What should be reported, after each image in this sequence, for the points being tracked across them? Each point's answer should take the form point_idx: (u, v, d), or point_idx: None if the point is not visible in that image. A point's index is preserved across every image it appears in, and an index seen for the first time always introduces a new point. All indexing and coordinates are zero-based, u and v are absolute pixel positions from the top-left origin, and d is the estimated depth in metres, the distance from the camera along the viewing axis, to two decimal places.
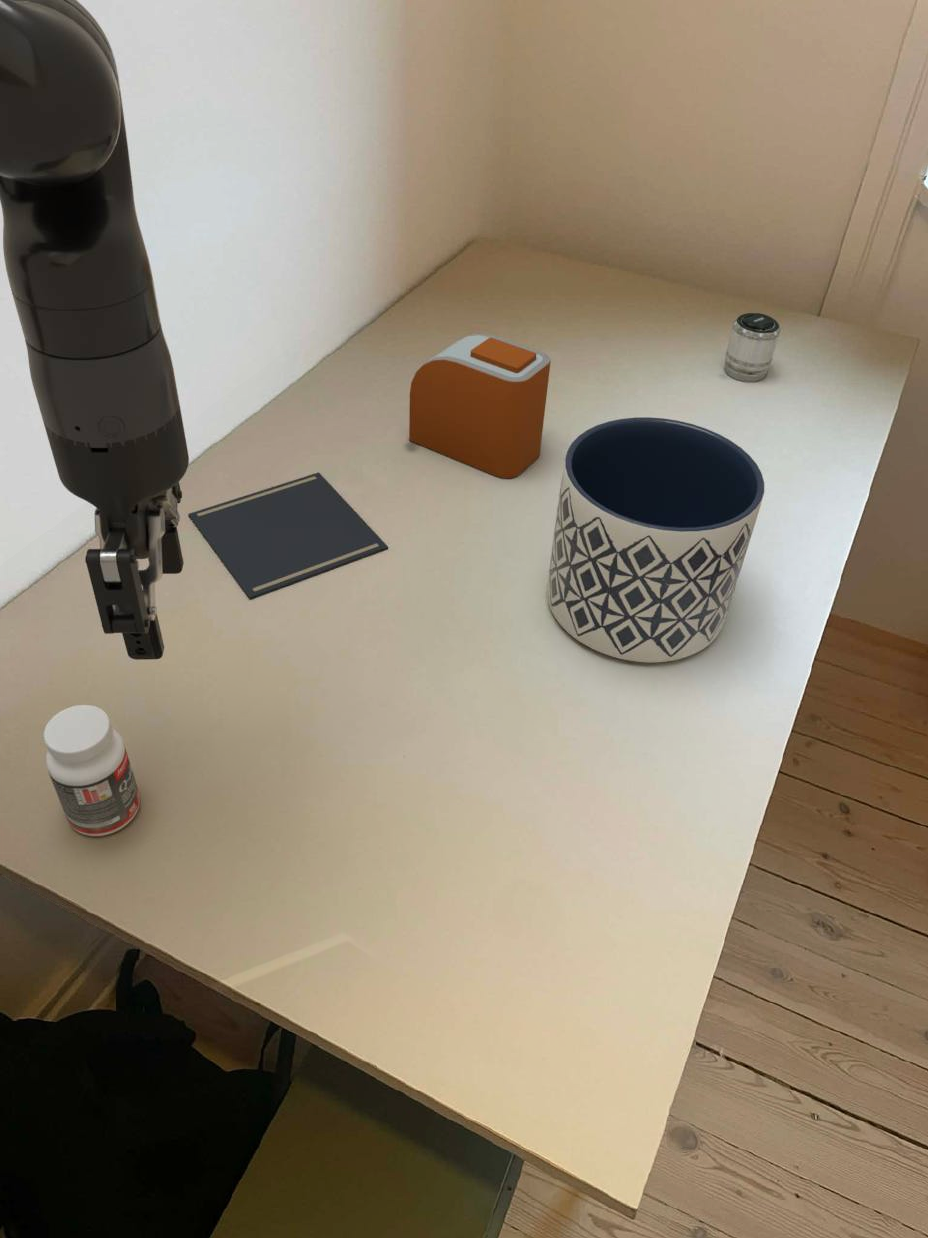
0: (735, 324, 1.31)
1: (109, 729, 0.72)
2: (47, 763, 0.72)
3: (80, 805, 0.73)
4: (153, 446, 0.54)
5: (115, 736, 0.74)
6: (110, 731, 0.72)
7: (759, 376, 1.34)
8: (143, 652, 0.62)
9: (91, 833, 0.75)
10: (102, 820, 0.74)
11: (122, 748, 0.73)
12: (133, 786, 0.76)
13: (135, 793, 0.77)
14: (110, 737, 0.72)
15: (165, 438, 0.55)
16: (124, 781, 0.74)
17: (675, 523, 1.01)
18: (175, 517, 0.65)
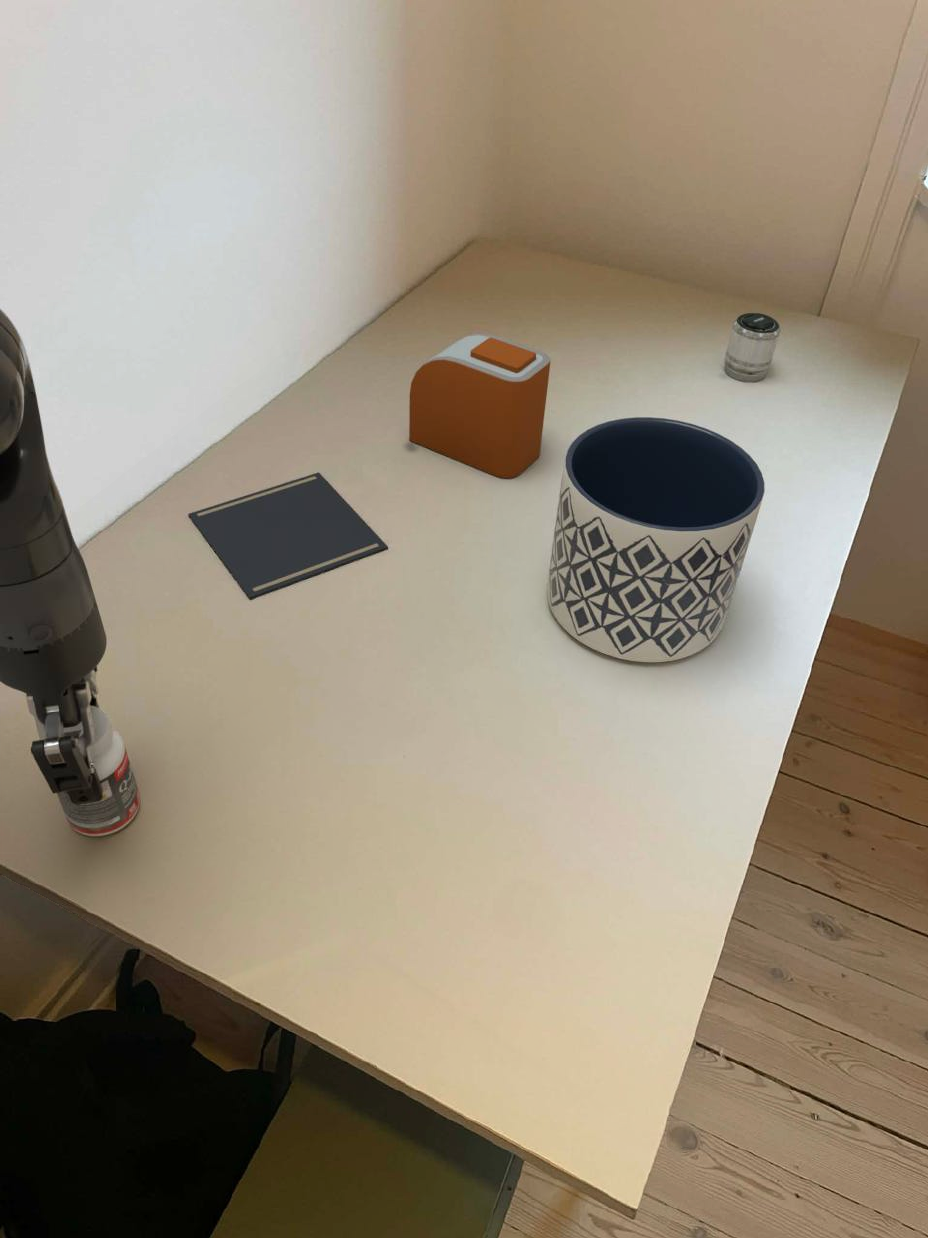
0: (735, 324, 1.31)
1: (109, 729, 0.72)
2: None
3: (80, 805, 0.73)
4: (78, 639, 0.62)
5: (115, 736, 0.74)
6: (110, 731, 0.72)
7: (759, 376, 1.34)
8: (85, 799, 0.71)
9: (91, 833, 0.75)
10: (102, 820, 0.74)
11: (122, 748, 0.73)
12: (133, 786, 0.76)
13: (135, 793, 0.77)
14: (110, 737, 0.72)
15: (87, 630, 0.63)
16: (125, 781, 0.74)
17: (675, 523, 1.01)
18: (95, 688, 0.72)
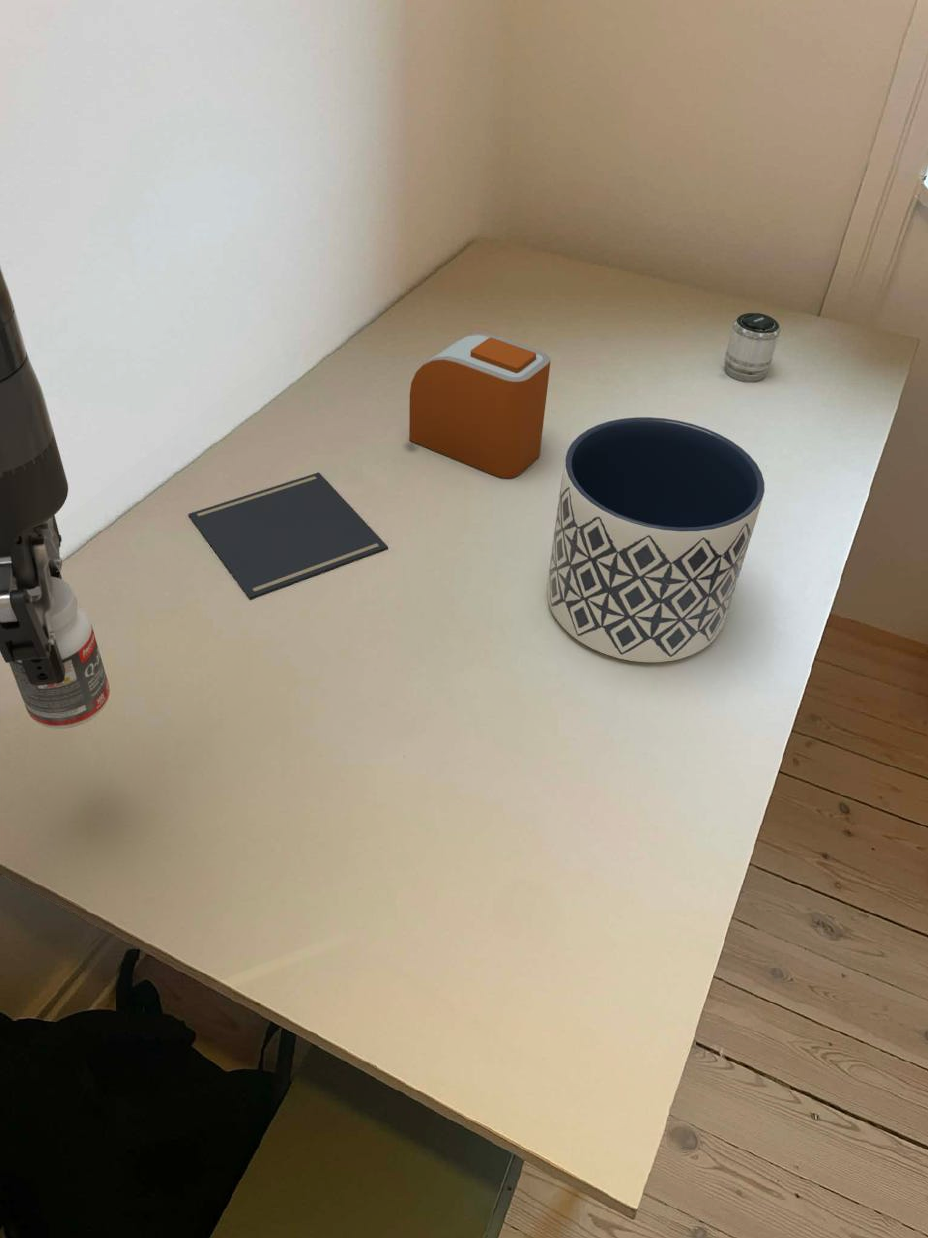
0: (735, 324, 1.31)
1: (73, 601, 0.63)
2: None
3: (40, 688, 0.65)
4: (32, 475, 0.54)
5: (81, 613, 0.66)
6: (74, 603, 0.64)
7: (759, 376, 1.34)
8: (45, 677, 0.62)
9: (54, 724, 0.67)
10: (65, 708, 0.66)
11: (88, 626, 0.65)
12: (101, 674, 0.68)
13: (104, 682, 0.69)
14: (74, 610, 0.64)
15: (43, 466, 0.55)
16: (91, 665, 0.66)
17: (675, 523, 1.01)
18: (57, 554, 0.64)
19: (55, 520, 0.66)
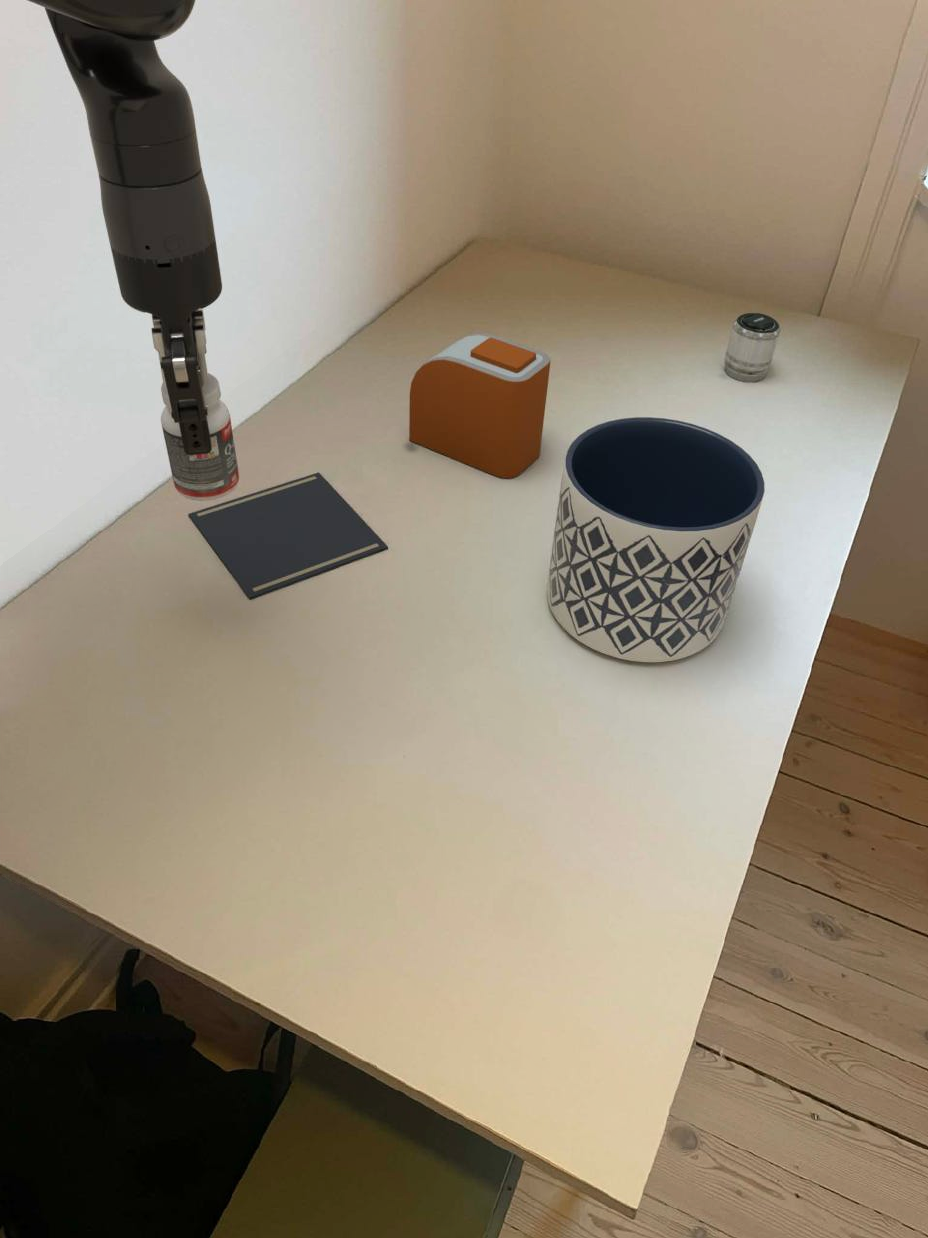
0: (735, 324, 1.31)
1: (218, 387, 0.80)
2: (162, 419, 0.80)
3: (191, 460, 0.81)
4: (202, 262, 0.70)
5: (221, 402, 0.82)
6: (219, 389, 0.80)
7: (759, 376, 1.34)
8: (198, 445, 0.79)
9: (198, 496, 0.84)
10: (208, 480, 0.83)
11: (228, 412, 0.82)
12: (235, 457, 0.84)
13: (236, 465, 0.85)
14: (219, 395, 0.80)
15: (209, 257, 0.71)
16: (229, 445, 0.82)
17: (675, 523, 1.01)
18: (205, 351, 0.80)
19: None
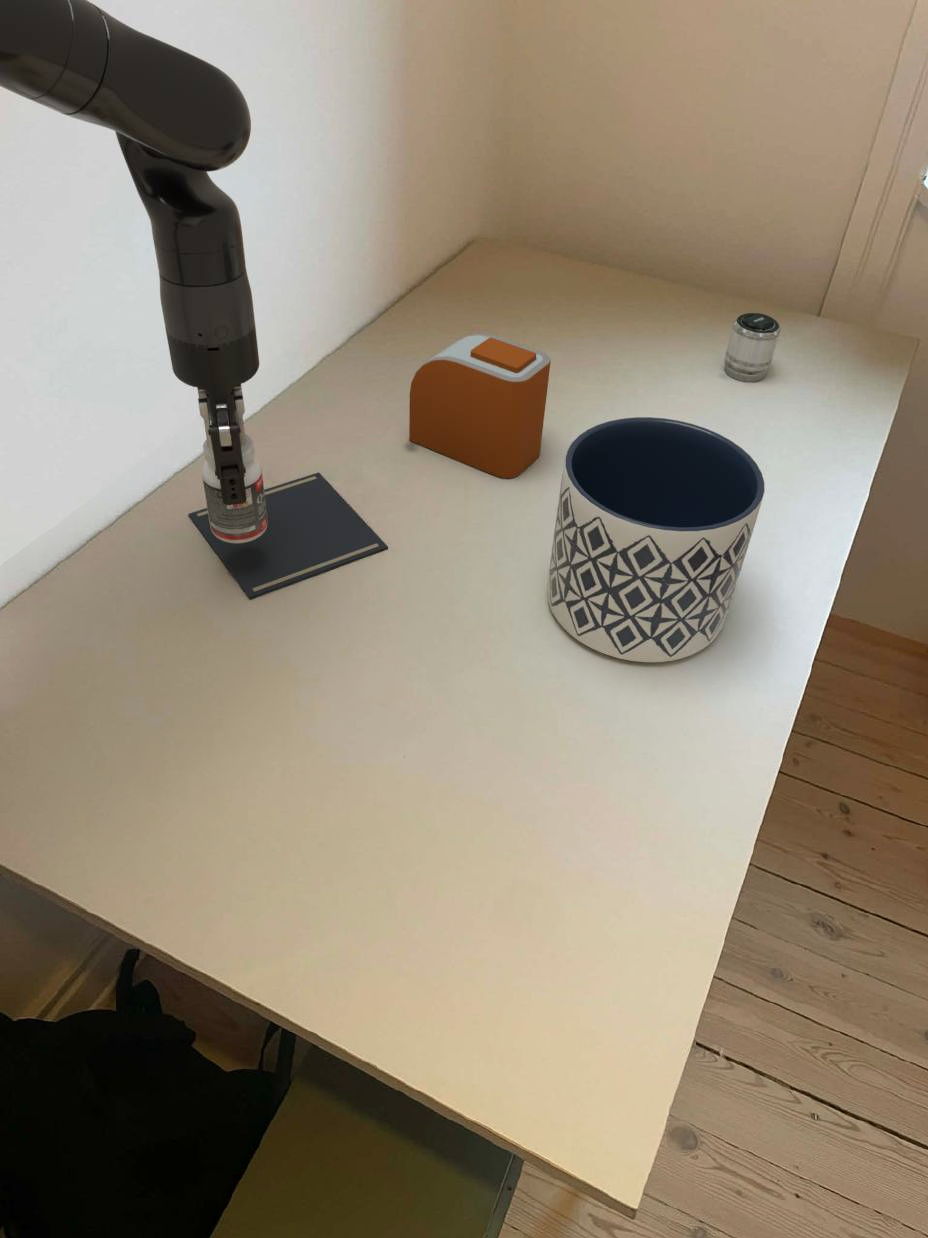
0: (735, 324, 1.31)
1: (253, 446, 0.92)
2: (204, 473, 0.92)
3: (227, 509, 0.93)
4: (245, 345, 0.82)
5: (254, 458, 0.94)
6: (253, 448, 0.92)
7: (759, 376, 1.34)
8: (235, 497, 0.91)
9: (233, 539, 0.95)
10: (242, 526, 0.94)
11: (260, 466, 0.93)
12: (265, 504, 0.96)
13: (266, 511, 0.97)
14: (253, 452, 0.92)
15: (251, 340, 0.83)
16: (261, 495, 0.94)
17: (675, 523, 1.01)
18: None
19: None
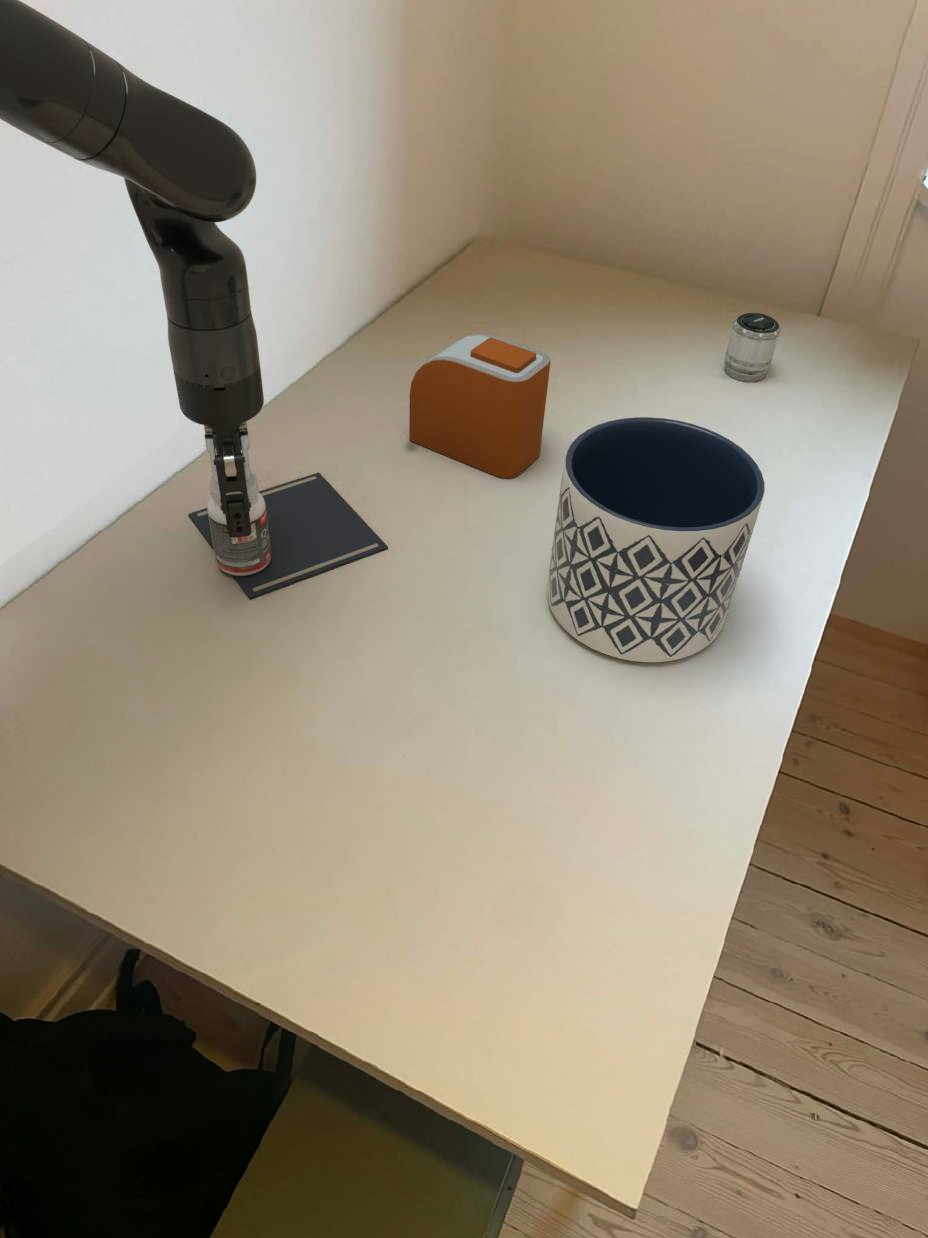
0: (735, 324, 1.31)
1: (257, 483, 0.94)
2: (209, 509, 0.95)
3: (233, 543, 0.96)
4: (250, 385, 0.85)
5: (258, 493, 0.97)
6: (257, 484, 0.95)
7: (759, 376, 1.34)
8: (240, 530, 0.92)
9: (238, 571, 0.98)
10: (247, 559, 0.97)
11: (264, 502, 0.96)
12: (269, 538, 0.99)
13: (269, 545, 1.00)
14: (257, 489, 0.95)
15: (256, 379, 0.85)
16: (265, 529, 0.97)
17: (675, 523, 1.01)
18: None
19: None
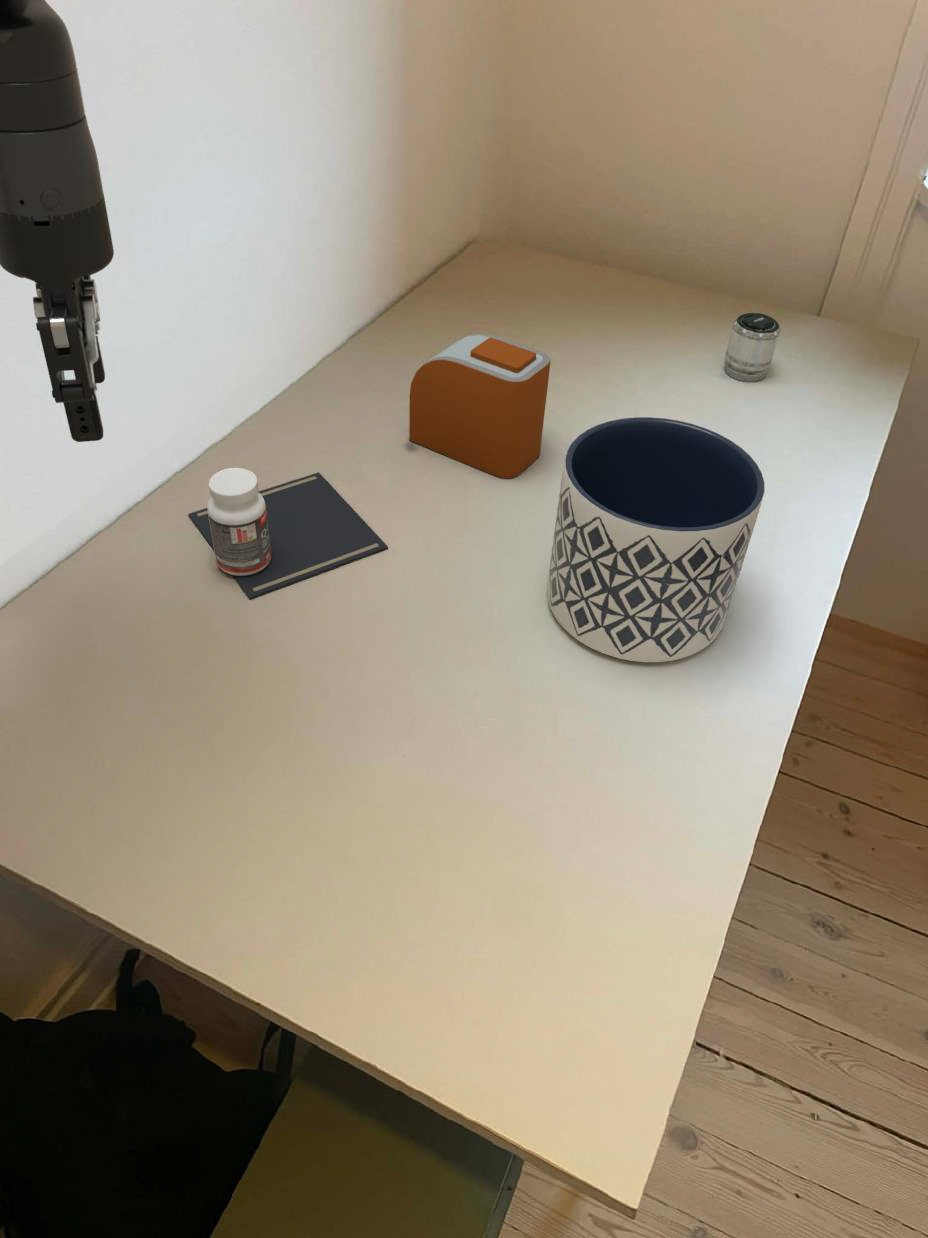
0: (735, 324, 1.31)
1: (257, 483, 0.94)
2: (209, 509, 0.95)
3: (233, 543, 0.96)
4: (87, 223, 0.63)
5: (258, 493, 0.97)
6: (257, 484, 0.95)
7: (759, 376, 1.34)
8: (86, 430, 0.70)
9: (238, 571, 0.98)
10: (247, 559, 0.97)
11: (264, 502, 0.96)
12: (269, 538, 0.99)
13: (269, 545, 1.00)
14: (257, 489, 0.95)
15: (96, 217, 0.64)
16: (265, 529, 0.97)
17: (675, 523, 1.01)
18: (98, 319, 0.73)
19: None
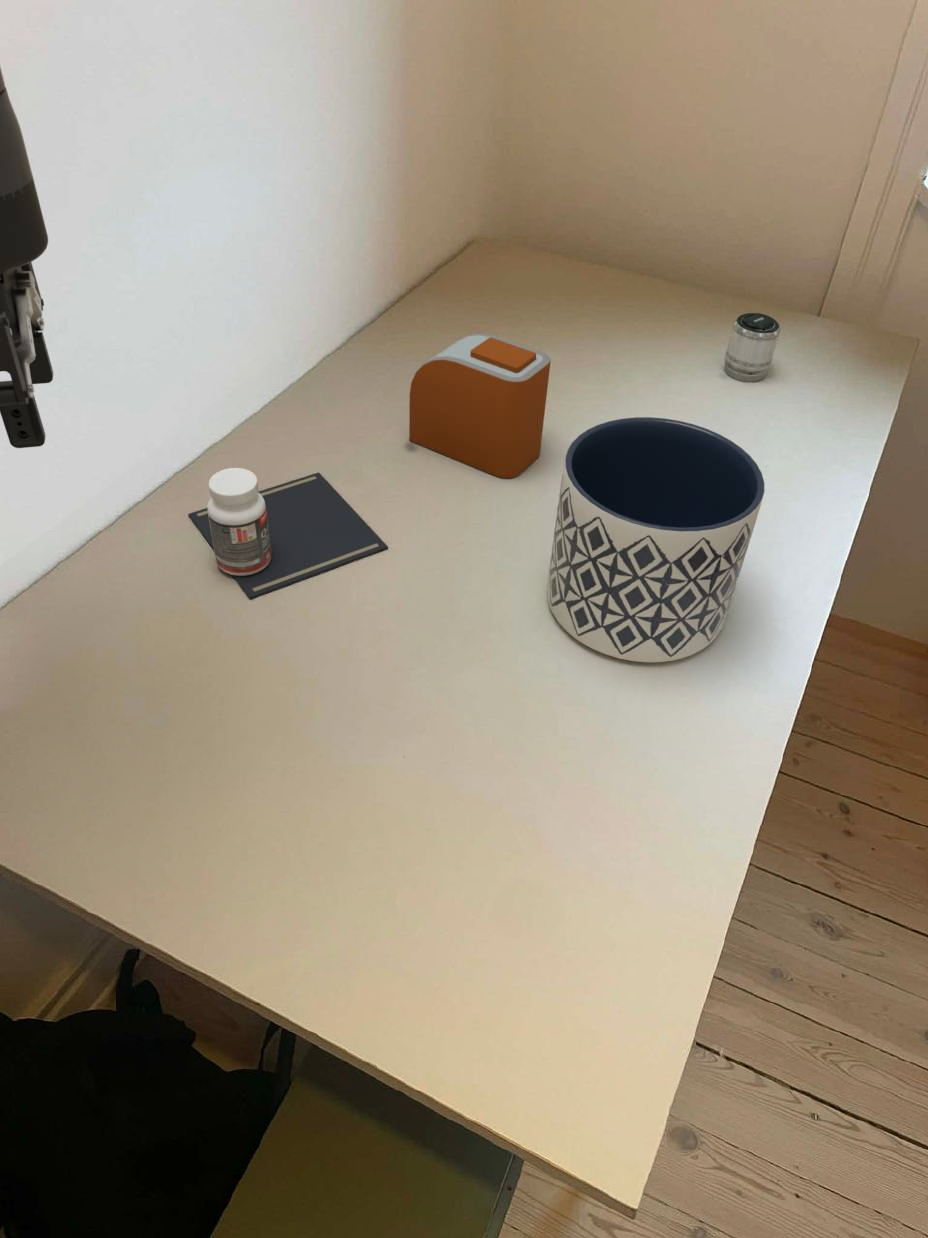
0: (735, 324, 1.31)
1: (257, 483, 0.94)
2: (209, 509, 0.95)
3: (233, 543, 0.96)
4: (12, 209, 0.57)
5: (258, 493, 0.97)
6: (257, 484, 0.95)
7: (759, 376, 1.34)
8: (25, 436, 0.64)
9: (238, 572, 0.98)
10: (247, 559, 0.97)
11: (264, 502, 0.96)
12: (268, 538, 0.99)
13: (269, 545, 1.00)
14: (257, 489, 0.95)
15: (23, 203, 0.58)
16: (265, 529, 0.97)
17: (675, 523, 1.01)
18: (40, 314, 0.67)
19: (37, 284, 0.70)
